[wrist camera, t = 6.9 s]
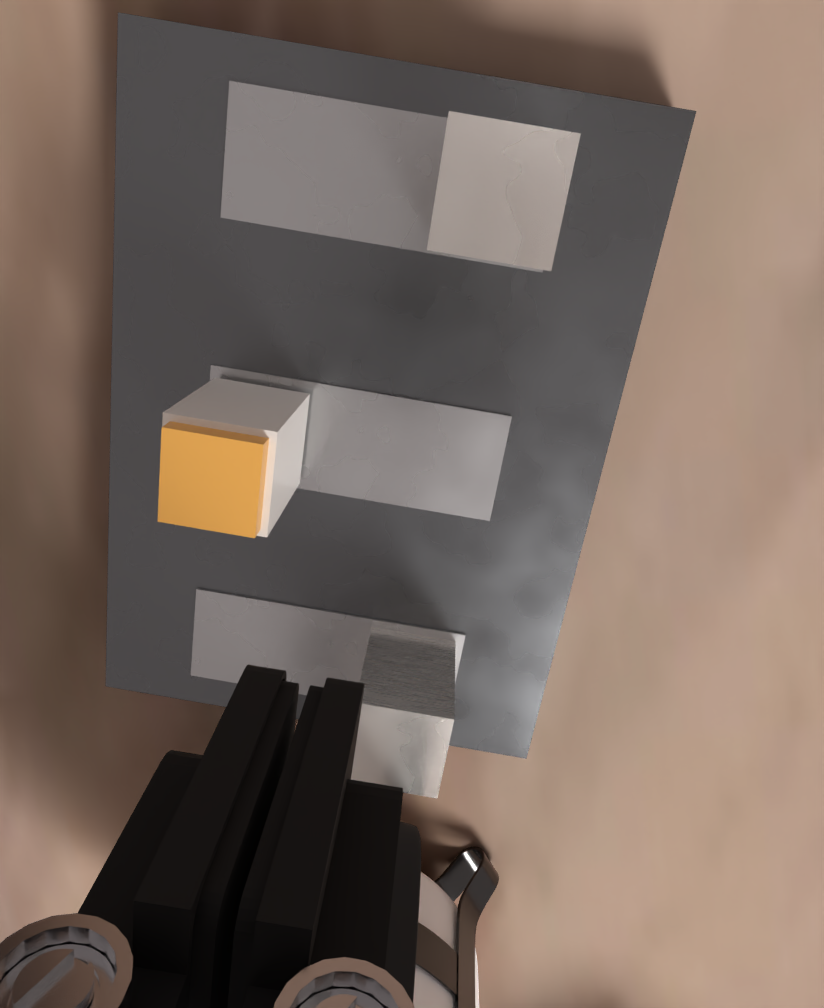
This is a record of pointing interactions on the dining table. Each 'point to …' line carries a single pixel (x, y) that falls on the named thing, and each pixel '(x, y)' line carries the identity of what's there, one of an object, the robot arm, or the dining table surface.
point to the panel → (373, 370)
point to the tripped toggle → (231, 457)
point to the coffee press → (437, 925)
